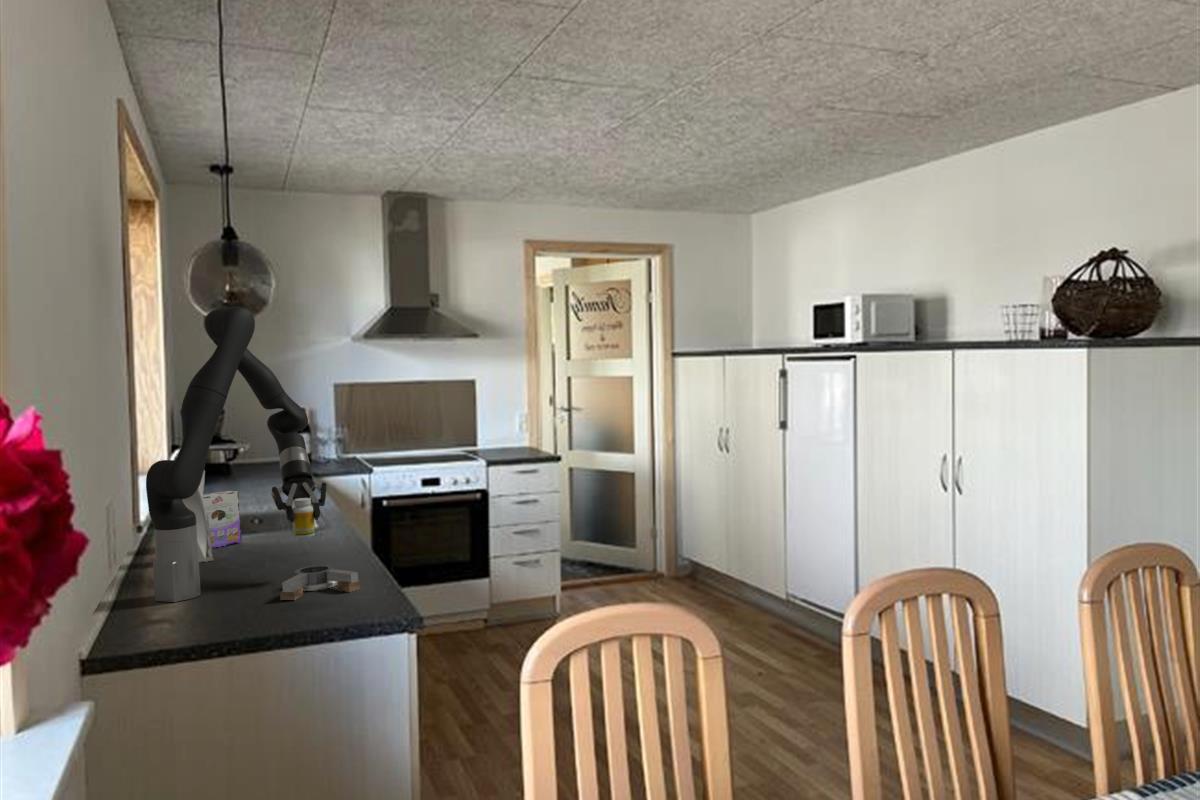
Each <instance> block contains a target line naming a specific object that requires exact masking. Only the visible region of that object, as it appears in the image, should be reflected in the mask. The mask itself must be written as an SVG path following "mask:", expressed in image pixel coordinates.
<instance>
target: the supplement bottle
mask: <svg viewBox="0 0 1200 800" xmlns="http://www.w3.org/2000/svg"><path fill="white" fill-rule="evenodd" d="M293 505H294V507H292V510H293V516H294V520H293V522H291V525H292V527H291V528H292V537H294V539H295V538H296V539H307V538H311V537H314V536H315V534H316V527H315V519H314V508H313V506H312V505H311V499H310V498H299V499H295V500H294V501H293Z"/></svg>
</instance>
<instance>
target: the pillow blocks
mask: <svg viewBox="0 0 1200 800" xmlns="http://www.w3.org/2000/svg"><path fill="white" fill-rule="evenodd" d="M336 587H337V588H336V589H337V592H342V591H345V592H344V593H349V592H350V593H352V591H353V592H356V591H358V590H361V589H362V588H361V580H359V579H358V581H357V582H354V583H346V582H337V586H336ZM355 590H356V591H355ZM279 595H280V596H279V597H280V598H279V599H280V601H281V600H295V601H297V600H299V599H300V597H301V598H302V597H304V592H303V587H300V588H298V589H296V590H294V591H292V592H283V590H281V591H280V593H279ZM298 598H299V599H298ZM296 599H297V600H296Z"/></svg>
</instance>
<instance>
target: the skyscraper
mask: <svg viewBox="0 0 1200 800" xmlns="http://www.w3.org/2000/svg"><path fill="white" fill-rule="evenodd" d="M205 479H206V471H205V470H204V472H203V476H202V480H201V483H200V485H199V487H198V489H197V491H196V492H195V493H194V494H193V495H192V496H191V497H189V498H186V499H183V503H184V504H185V506H186V507H187V508H188V509H189V510H191V511H192V512H194V513H195V515H196V527H197V544H198V559H199V564H202V563H201V562H206V563H209V562H208V561H214V555H213V554H214V553H213V549H212V544H211V529H209V520H208V515H207V521H206V515H205V509H204V505H203V495H204V493H205V492H204V491H205Z"/></svg>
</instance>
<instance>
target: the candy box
mask: <svg viewBox="0 0 1200 800" xmlns="http://www.w3.org/2000/svg"><path fill="white" fill-rule="evenodd" d="M239 501H240V500H239V491H237V490H236V491H235V490H224V491H223V490H222V491H218V492H210V493H205V494H204V493H203V505H204V509H205V515H206V521H207V515H208V520H209V529H211V544H212V548H214V549H217V548H216V547H219V548H222V547H221V546H224V547H227V546H226V545H228V546H232V545H231V544H233V545H236V544H235V543H238V544H242V543H241V542H242V541H243V540H242V539H243V538H242V527H241V515H240V513H241V512H240V502H239Z"/></svg>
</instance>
